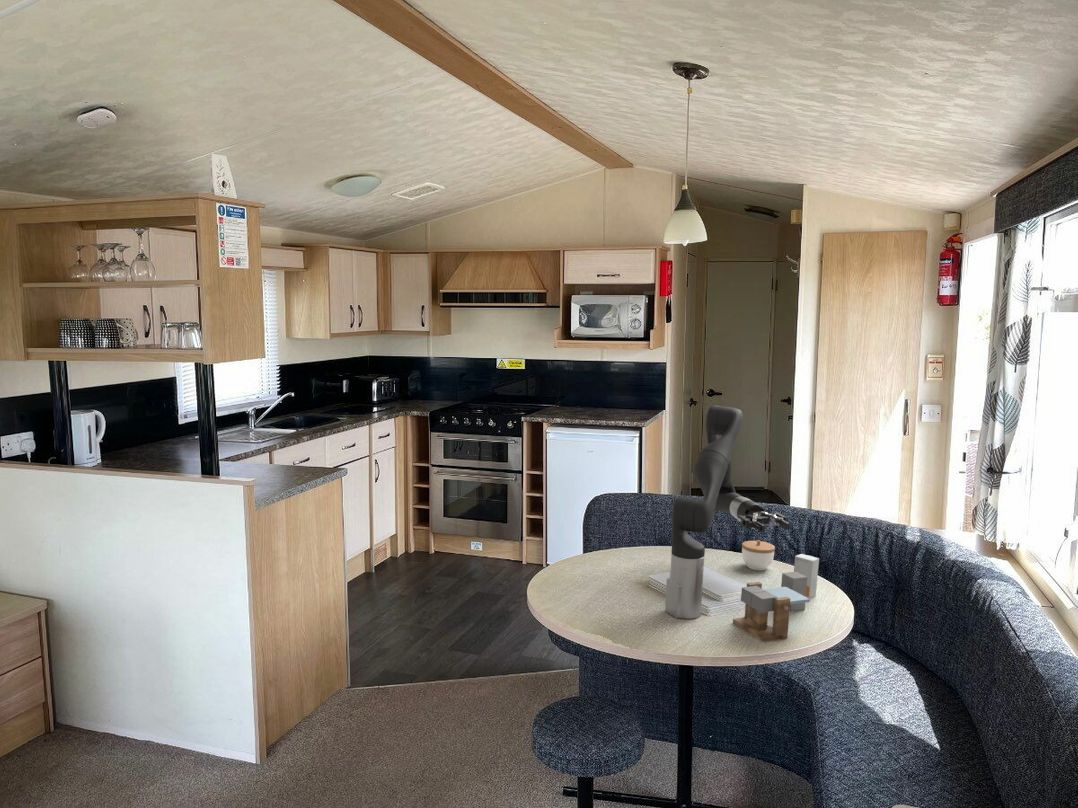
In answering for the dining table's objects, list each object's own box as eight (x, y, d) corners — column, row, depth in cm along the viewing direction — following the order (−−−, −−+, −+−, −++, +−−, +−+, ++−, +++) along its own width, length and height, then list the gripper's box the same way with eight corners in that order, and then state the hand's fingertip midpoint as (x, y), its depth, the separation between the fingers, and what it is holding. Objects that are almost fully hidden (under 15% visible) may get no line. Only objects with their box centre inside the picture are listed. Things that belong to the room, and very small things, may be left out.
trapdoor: (809, 607, 220) (810, 593, 220) (762, 613, 215) (763, 599, 214) (784, 594, 230) (785, 581, 229) (739, 600, 224) (740, 586, 223)
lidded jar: (774, 574, 269) (776, 546, 268) (741, 570, 271) (743, 543, 270) (772, 564, 279) (774, 537, 278) (739, 561, 281) (741, 534, 280)
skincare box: (791, 593, 251) (794, 555, 250) (798, 590, 254) (801, 553, 253) (809, 599, 247) (813, 560, 245) (816, 595, 250) (819, 558, 248)
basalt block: (790, 612, 236) (793, 578, 235) (779, 605, 240) (782, 573, 239) (804, 610, 238) (807, 577, 236) (793, 604, 242) (796, 571, 241)
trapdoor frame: (790, 640, 216) (793, 600, 214) (766, 643, 213) (769, 603, 211) (753, 618, 230) (756, 580, 229) (730, 621, 227) (732, 583, 226)
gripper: (727, 501, 258) (756, 518, 242) (766, 498, 262) (797, 514, 247) (726, 524, 259) (754, 542, 244) (764, 520, 263) (795, 537, 248)
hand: (775, 528), depth 245 cm, fingers open, 8 cm apart
